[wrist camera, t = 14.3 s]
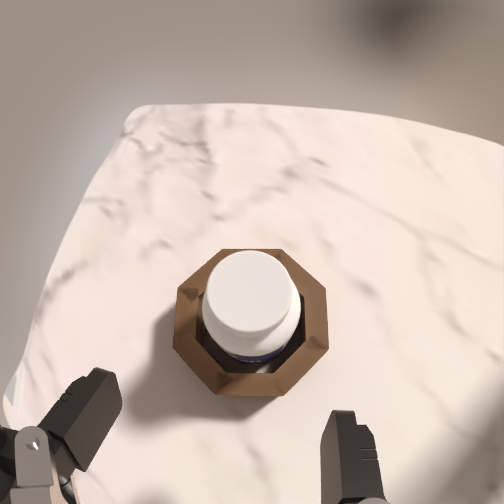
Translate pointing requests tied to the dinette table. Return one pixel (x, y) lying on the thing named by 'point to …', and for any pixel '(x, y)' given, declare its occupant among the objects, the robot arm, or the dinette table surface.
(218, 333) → the pill bottle
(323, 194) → the dinette table surface
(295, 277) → the walnut ring
